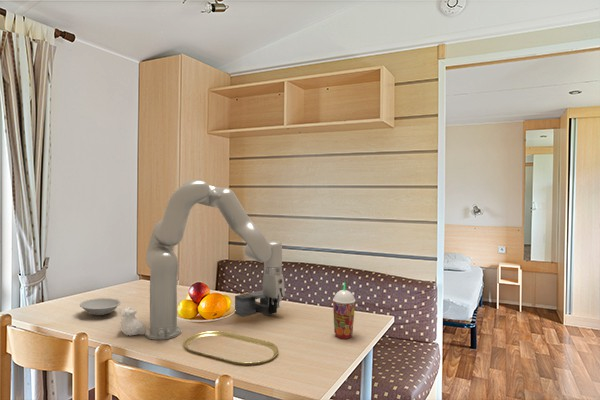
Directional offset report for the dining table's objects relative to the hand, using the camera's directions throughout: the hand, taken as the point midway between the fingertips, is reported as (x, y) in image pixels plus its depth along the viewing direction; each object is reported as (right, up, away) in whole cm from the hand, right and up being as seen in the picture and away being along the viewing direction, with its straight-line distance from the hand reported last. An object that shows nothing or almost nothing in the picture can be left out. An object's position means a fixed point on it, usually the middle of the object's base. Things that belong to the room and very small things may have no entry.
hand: (272, 312), depth 174 cm
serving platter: (-12, -3, -35) cm, 37 cm away
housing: (-7, -1, +8) cm, 11 cm away
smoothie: (+28, -3, -22) cm, 36 cm away
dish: (-72, -1, -2) cm, 72 cm away
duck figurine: (-51, -2, -23) cm, 56 cm away
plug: (-8, -1, +9) cm, 12 cm away
